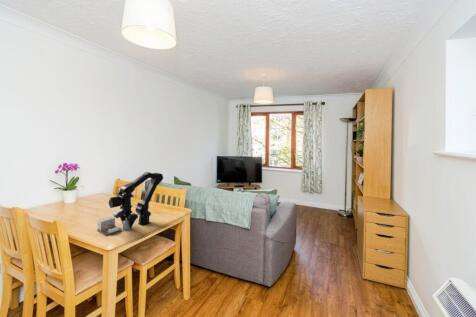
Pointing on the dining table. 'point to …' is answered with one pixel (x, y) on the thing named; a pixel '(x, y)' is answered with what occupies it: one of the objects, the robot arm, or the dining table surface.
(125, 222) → the grey round-ended capsule
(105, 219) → the motor mount
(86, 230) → the dining table surface
